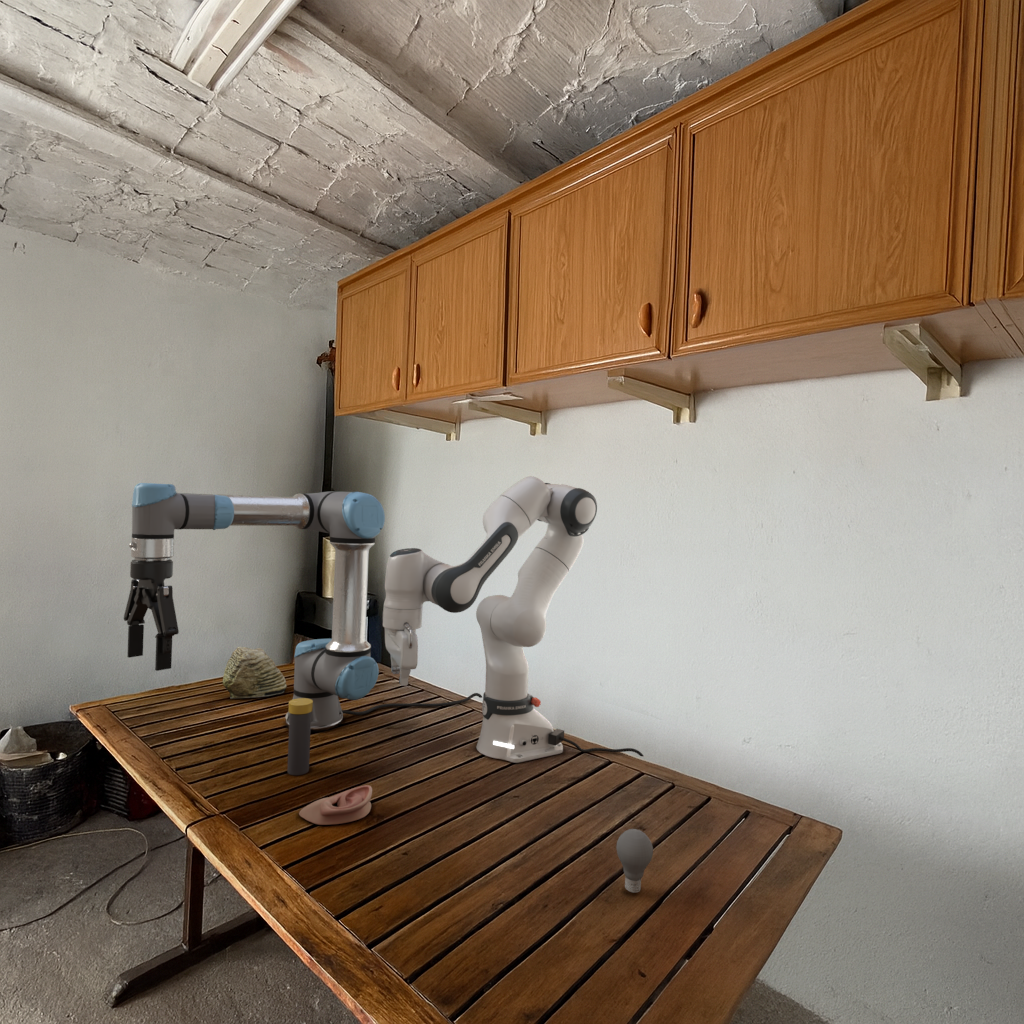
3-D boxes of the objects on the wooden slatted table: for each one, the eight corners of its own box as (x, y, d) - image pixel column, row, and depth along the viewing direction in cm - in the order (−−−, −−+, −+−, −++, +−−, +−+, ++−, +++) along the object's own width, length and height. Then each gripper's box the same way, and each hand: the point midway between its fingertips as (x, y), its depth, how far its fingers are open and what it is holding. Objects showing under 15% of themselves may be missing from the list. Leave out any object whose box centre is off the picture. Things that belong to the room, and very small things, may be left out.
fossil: (218, 695, 195) (220, 647, 195) (278, 685, 208) (279, 640, 207) (228, 703, 189) (230, 653, 188) (289, 692, 201) (290, 645, 201)
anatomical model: (291, 800, 123) (320, 775, 134) (290, 820, 123) (320, 794, 134) (354, 810, 120) (379, 784, 132) (353, 830, 121) (378, 803, 132)
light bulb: (610, 879, 108) (613, 822, 108) (644, 879, 109) (647, 822, 109) (619, 902, 102) (622, 840, 102) (655, 901, 103) (658, 840, 103)
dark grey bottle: (294, 765, 148) (296, 699, 148) (312, 767, 148) (315, 701, 147) (283, 774, 144) (285, 705, 143) (302, 776, 143) (305, 707, 143)
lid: (295, 705, 148) (296, 697, 148) (316, 708, 148) (316, 699, 147) (283, 713, 143) (284, 704, 143) (305, 715, 142) (305, 706, 142)
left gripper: (108, 554, 134) (104, 654, 134) (159, 565, 118) (155, 678, 119) (146, 552, 140) (143, 648, 140) (199, 563, 124) (195, 671, 124)
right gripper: (426, 627, 137) (423, 691, 137) (407, 611, 156) (404, 666, 156) (397, 628, 134) (393, 693, 135) (381, 611, 154) (378, 668, 154)
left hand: (148, 662), depth 129 cm, fingers open, 13 cm apart
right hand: (399, 678), depth 145 cm, fingers open, 8 cm apart
